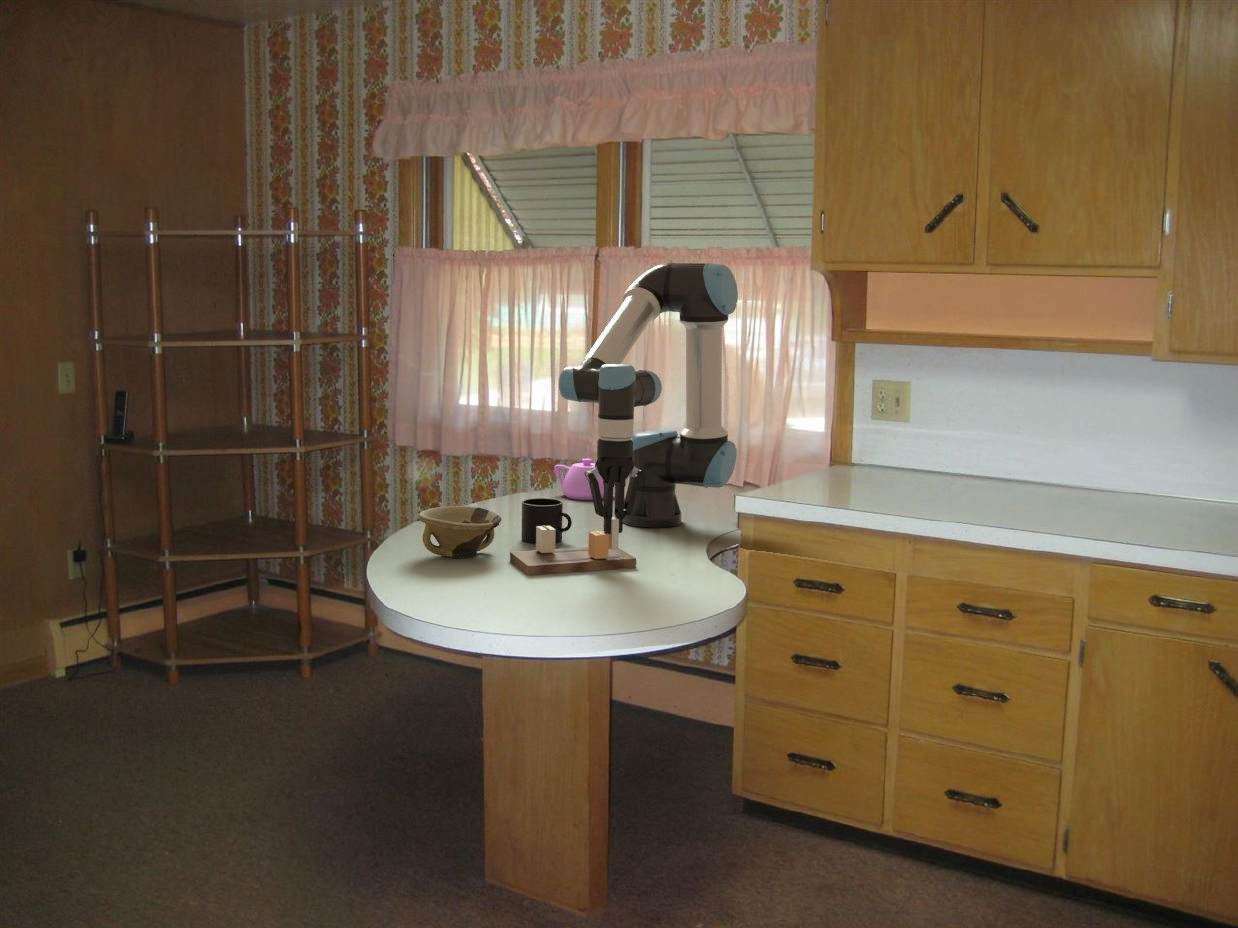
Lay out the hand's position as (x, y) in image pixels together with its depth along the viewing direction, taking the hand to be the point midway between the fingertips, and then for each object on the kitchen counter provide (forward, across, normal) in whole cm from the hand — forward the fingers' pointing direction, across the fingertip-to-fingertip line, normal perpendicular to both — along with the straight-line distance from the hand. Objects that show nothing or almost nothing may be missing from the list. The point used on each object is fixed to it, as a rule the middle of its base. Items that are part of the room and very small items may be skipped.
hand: (612, 547), depth 257 cm
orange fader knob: (+2, +3, 0) cm, 4 cm away
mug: (+4, +5, -28) cm, 28 cm away
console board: (+4, +8, -4) cm, 9 cm away
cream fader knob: (+2, +12, -8) cm, 15 cm away
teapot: (+4, -24, -78) cm, 81 cm away
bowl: (+4, +28, -19) cm, 34 cm away
